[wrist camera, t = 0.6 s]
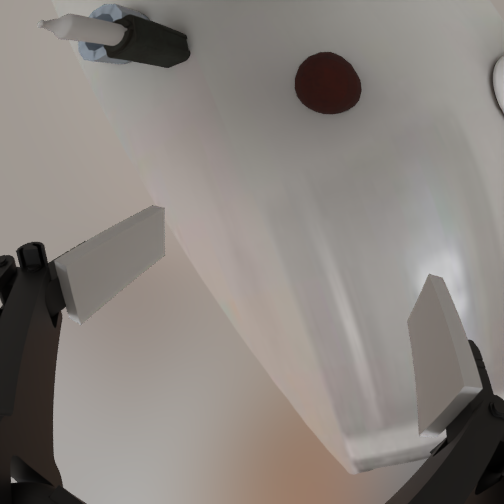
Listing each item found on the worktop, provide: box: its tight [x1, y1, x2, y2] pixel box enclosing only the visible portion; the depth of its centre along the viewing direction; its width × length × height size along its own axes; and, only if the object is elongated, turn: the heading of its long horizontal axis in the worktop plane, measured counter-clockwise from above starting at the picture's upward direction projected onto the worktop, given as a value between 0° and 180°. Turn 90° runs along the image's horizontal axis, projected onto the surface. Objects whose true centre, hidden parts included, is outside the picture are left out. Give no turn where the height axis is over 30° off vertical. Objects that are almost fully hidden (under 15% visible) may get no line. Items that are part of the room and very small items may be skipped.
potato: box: [295, 52, 361, 114], centre depth 29 cm, size 8×8×8 cm
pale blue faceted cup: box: [78, 4, 150, 64], centre depth 34 cm, size 10×10×8 cm
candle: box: [37, 14, 190, 68], centre depth 25 cm, size 5×5×25 cm
